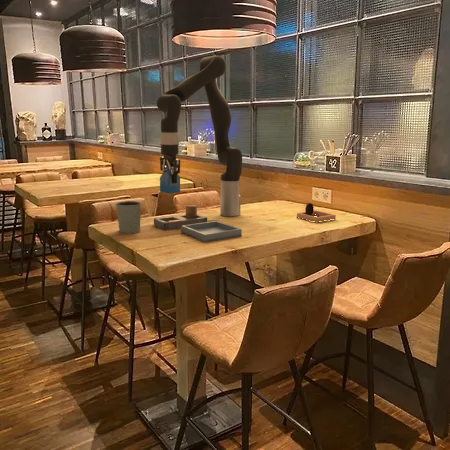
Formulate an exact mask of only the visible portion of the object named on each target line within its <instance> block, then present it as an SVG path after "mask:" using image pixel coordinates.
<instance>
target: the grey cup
mask: <svg viewBox="0 0 450 450" xmlns="http://www.w3.org/2000/svg"><path fill="white" fill-rule="evenodd" d="M141 205H142V203H141V202H140V201H133V200H132V201H131V200H130V201H129V200H128V201H119V202H116V203H115V207H116V213H117V215H116V216H117V223H118V230H119V233H120V234H126V233H127V235H128V233H131V234H138V233H140V232H141V208H142V207H141Z"/></svg>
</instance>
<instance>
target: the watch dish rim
mask: <svg viewBox="0 0 450 450" xmlns="http://www.w3.org/2000/svg"><path fill="white" fill-rule="evenodd" d="M315 214H316V215H322V216H321V217H314V216H310V215H307V214H306V211H302V212H297V213H296V218H297V217H299V218H303V219H307V220H310V221H315V222H319V221H324V220H330V219H335V220H336V218H337V217H336V216H337V214H334V213H330V212H326V211H320V210H316V209H315V210H314V211H313V214H312V215H315ZM299 218H298V219H299ZM303 219H302V220H303ZM310 221H309V222H310Z"/></svg>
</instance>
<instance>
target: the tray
mask: <svg viewBox="0 0 450 450" xmlns="http://www.w3.org/2000/svg"><path fill="white" fill-rule="evenodd" d="M242 230H243V229H242V228H240V227H237V226H234V225H231V224H228V223H224V222H221V221H219V220H213V221H207V222H204V223H197V224H190V225H183V226H181V228H180V233H181V234H183V235H186V236H189V237H191V238H193V239H196V240H198V241H200V242H202V243H209V242H215V241H220V240H227V239H232V238H238V237H242V233H243V231H242Z"/></svg>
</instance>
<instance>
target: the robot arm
mask: <svg viewBox="0 0 450 450" xmlns="http://www.w3.org/2000/svg"><path fill="white" fill-rule="evenodd" d="M226 71H227V63H226V60H225V58H224V57H222V56H221V55H211V56H205V57H202V59H201V60H200V62H199V71H198V72H197V73H195V74H193V75H191V76H189V77H187V78H185V79H183V80H182V81H181V82H180V83H179V84H177V85H176V86H175V87H173V88H171V89H169V90H168V91H165V92H163V93H162V94H161V95H160V96H159V97H158V98H157V101H156V107H157V108H158V110H159V111H160V112H164V113H166V117H163V118H162V119H161V121H160V154H161V155H162V156H160V157H159V166H160V168H159V169H160V170H159V171H161V173H163V172H167V170H166V167H167V165H166V164H168V166H169V170H171V173H172V183H177V174H178V175H179V174H180V173H181V159H180V158H179V159H178V158H177V156H178V155H179V153H180V152H179V150H180V149H179V132H178V131H179V130H178V129H179V127H178V124H179V123H178V122H179V119H180V115H181V111H182V102H186V101H188V99H190V98H191V97H192V96H193V95H194V94H195V93H197V92H198V91H200V90H201V89H202V88H203V87H204V89H205V93H206V97H207V102H208V106H209V111H210V118H211V122H212V126H213V131H214V137H215V144H216V153H217V154H216V155H217V159H218V162H219V164H221V165H222V166H224V167H225V168H226V170H225V172H224V173H222V174H221V175H220V204H219V205H220V210H219V212H220V215H221V216H224V217H236V216H239V215H241V208H242V207H241V205H242V202H241V200H242V198H241V196H242V195H240V178H241V175H242V167H243V154H242V151H241V149H240V148H237V147H233V146H231V145H230V139H229V138H230V137H229V132H230V128H231V124H232V115H231V114H232V113H231V109H230V105H229V102H228V100H227V99H226V98H225V96H224V95H223V93H222V92H221V90H220V89H219V86H218V83H217V79H218V78H221V76H223V75H224V74H225V73H226Z"/></svg>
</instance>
